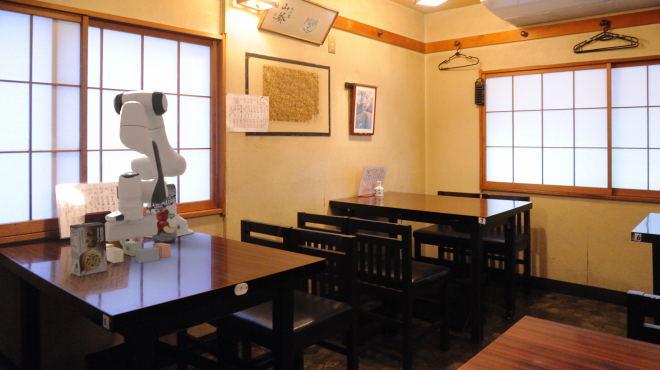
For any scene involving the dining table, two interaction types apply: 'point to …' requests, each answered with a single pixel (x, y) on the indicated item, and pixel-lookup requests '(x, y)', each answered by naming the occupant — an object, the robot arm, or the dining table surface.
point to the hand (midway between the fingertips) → (132, 249)
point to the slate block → (147, 254)
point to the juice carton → (166, 217)
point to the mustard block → (109, 245)
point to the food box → (88, 248)
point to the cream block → (114, 254)
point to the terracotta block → (163, 249)
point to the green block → (132, 247)
